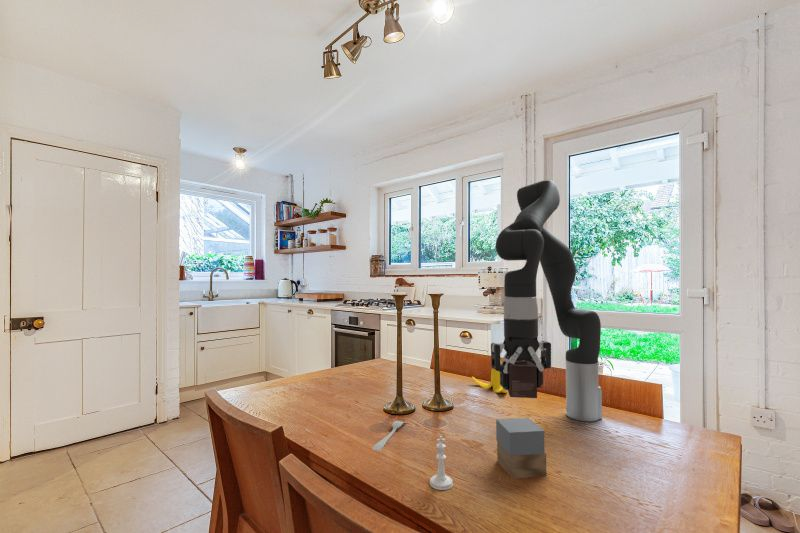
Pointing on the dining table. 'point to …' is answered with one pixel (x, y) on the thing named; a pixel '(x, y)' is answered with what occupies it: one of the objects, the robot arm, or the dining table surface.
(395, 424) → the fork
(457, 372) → the dining table surface
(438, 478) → the chess piece
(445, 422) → the dining table surface
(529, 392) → the box
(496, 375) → the banana peel
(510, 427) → the tower top
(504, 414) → the dining table surface
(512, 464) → the tower bottom
